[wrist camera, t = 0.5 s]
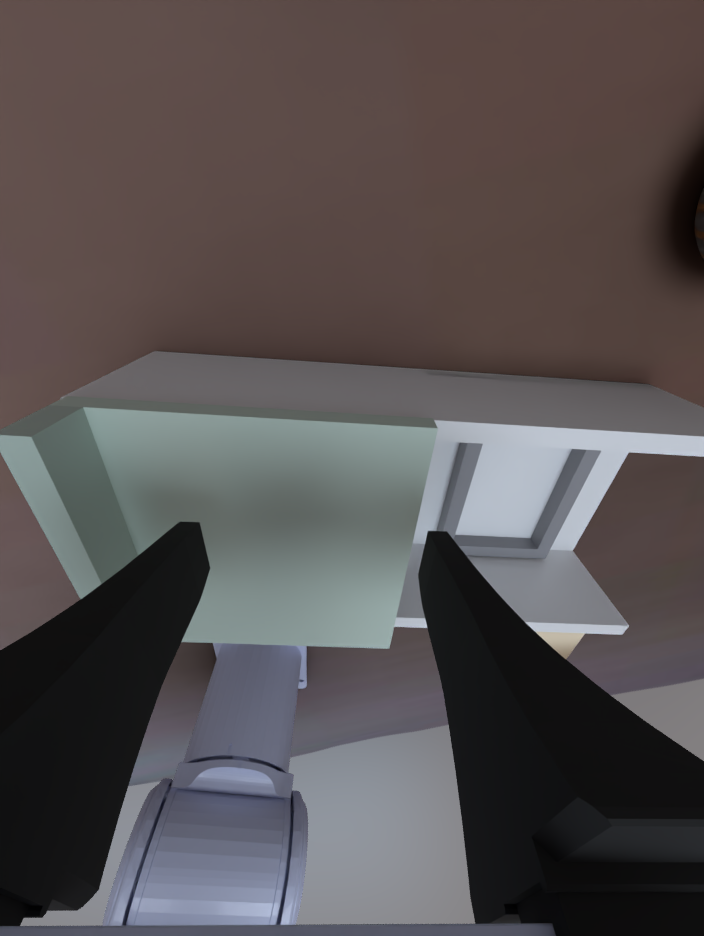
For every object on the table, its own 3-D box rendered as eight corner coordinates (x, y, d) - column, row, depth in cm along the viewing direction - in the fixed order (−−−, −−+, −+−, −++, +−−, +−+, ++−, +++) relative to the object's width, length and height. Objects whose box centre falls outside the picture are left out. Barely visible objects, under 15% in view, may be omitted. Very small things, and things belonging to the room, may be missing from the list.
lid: (387, 633, 18) (393, 691, 16) (156, 626, 18) (126, 683, 15) (432, 418, 12) (454, 460, 9) (67, 395, 11) (-10, 434, 9)
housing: (560, 548, 24) (621, 634, 19) (196, 532, 23) (148, 618, 18) (649, 384, 18) (781, 441, 12) (154, 351, 17) (60, 397, 11)
